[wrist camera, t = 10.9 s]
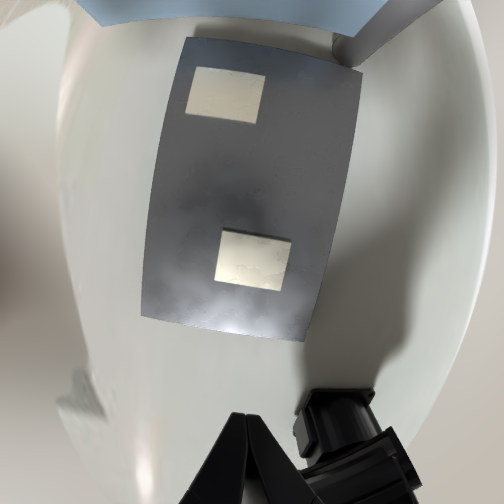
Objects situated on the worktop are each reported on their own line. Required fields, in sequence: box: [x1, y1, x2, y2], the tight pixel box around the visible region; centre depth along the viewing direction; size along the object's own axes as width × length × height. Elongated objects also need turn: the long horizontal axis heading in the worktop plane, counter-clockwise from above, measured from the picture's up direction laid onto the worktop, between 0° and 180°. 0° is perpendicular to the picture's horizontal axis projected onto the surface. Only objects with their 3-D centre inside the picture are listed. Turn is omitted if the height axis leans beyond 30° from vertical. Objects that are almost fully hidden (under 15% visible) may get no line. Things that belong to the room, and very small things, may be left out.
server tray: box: [141, 37, 363, 342], centre depth 17 cm, size 11×18×2 cm, turn 169°
